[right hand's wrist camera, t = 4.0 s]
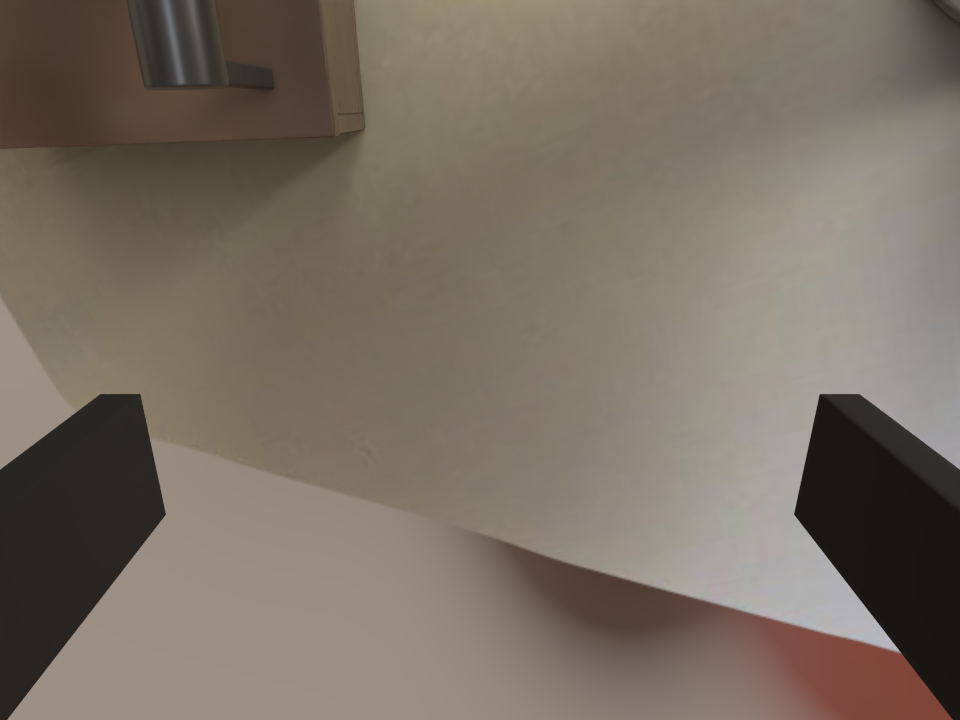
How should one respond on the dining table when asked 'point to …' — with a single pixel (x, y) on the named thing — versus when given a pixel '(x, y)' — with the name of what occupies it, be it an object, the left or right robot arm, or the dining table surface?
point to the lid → (164, 71)
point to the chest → (345, 64)
